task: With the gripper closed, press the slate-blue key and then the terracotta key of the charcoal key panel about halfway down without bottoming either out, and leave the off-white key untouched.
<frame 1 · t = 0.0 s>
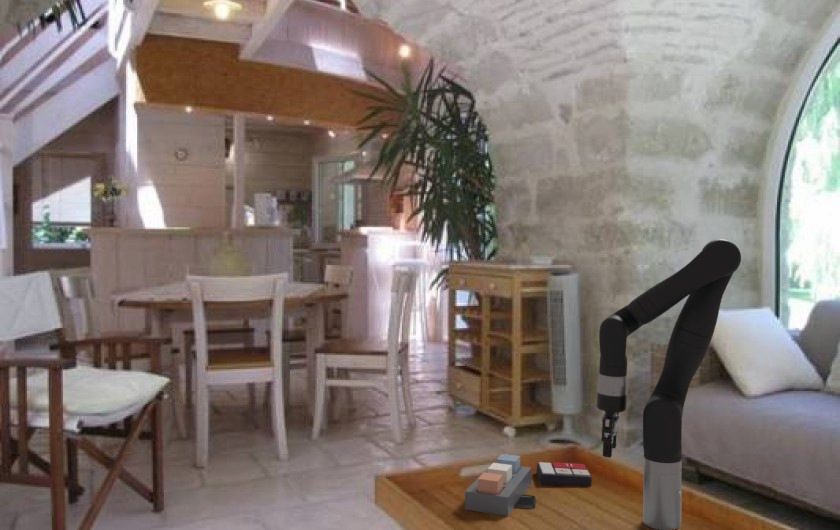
hand: (609, 452, 187), 17 cm above the table, tool pointing down, fingers open, 8 cm apart
calculator: (563, 481, 216), on the table
white key: (499, 473, 202), point 7 cm above the table, slide at 0.0 cm
key panel: (499, 496, 202), on the table
terracotta key: (490, 483, 194), point 7 cm above the table, slide at 0.0 cm
slate key: (508, 464, 210), point 7 cm above the table, slide at 0.0 cm
phone: (508, 503, 198), on the table
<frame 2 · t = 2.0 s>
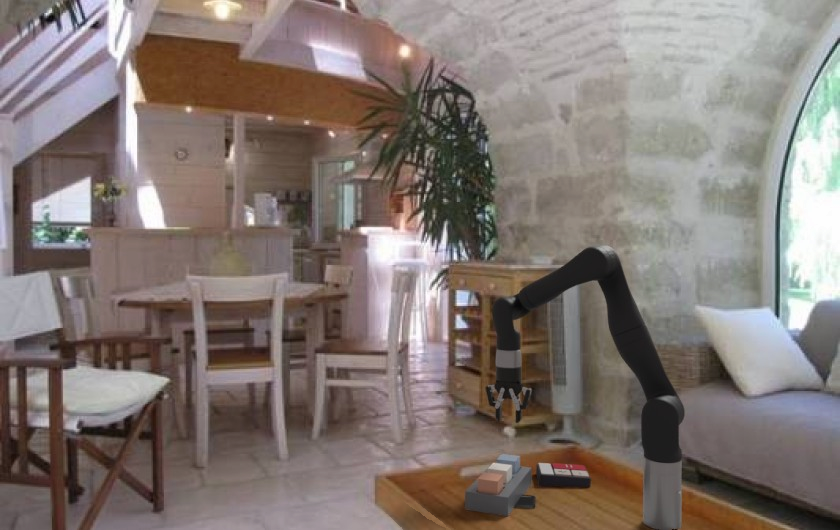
hand: (508, 421, 210), 19 cm above the table, tool pointing down, fingers open, 5 cm apart
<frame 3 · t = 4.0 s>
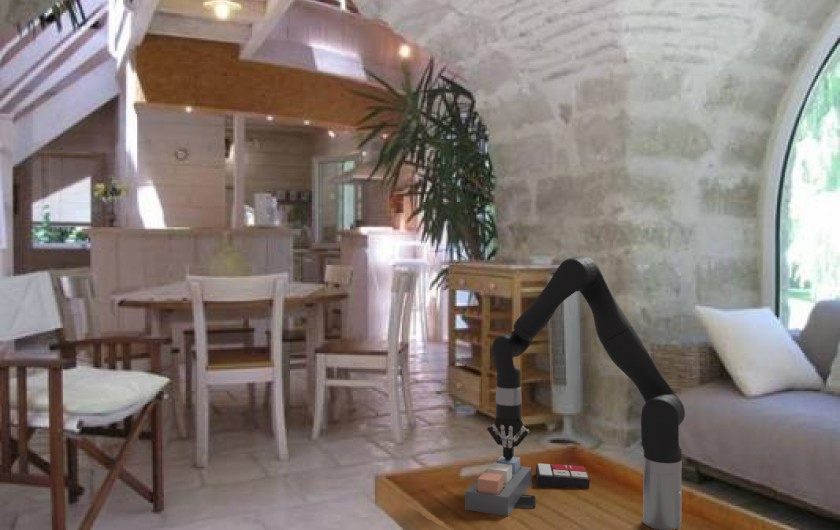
hand: (508, 459, 210), 8 cm above the table, tool pointing down, fingers closed
slate key: (508, 465, 210), point 6 cm above the table, slide at 0.5 cm, touching gripper
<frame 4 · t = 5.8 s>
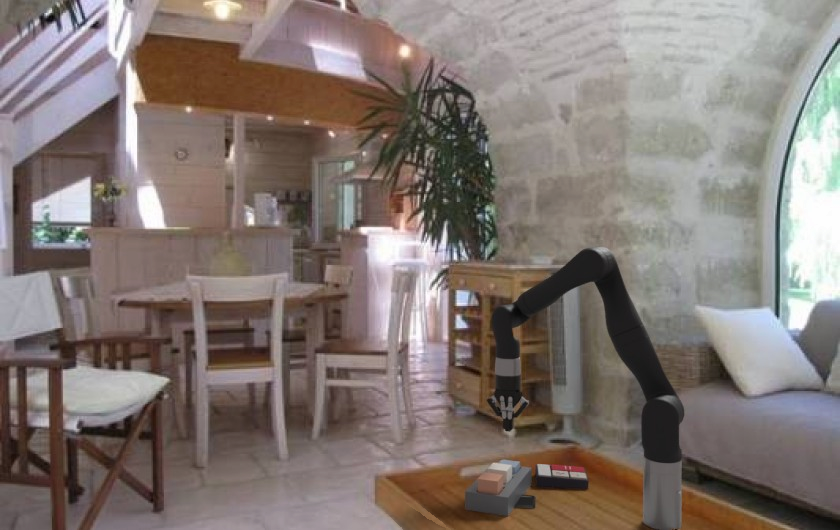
hand: (508, 430, 209), 17 cm above the table, tool pointing down, fingers closed
slate key: (508, 469, 210), point 5 cm above the table, slide at 1.7 cm
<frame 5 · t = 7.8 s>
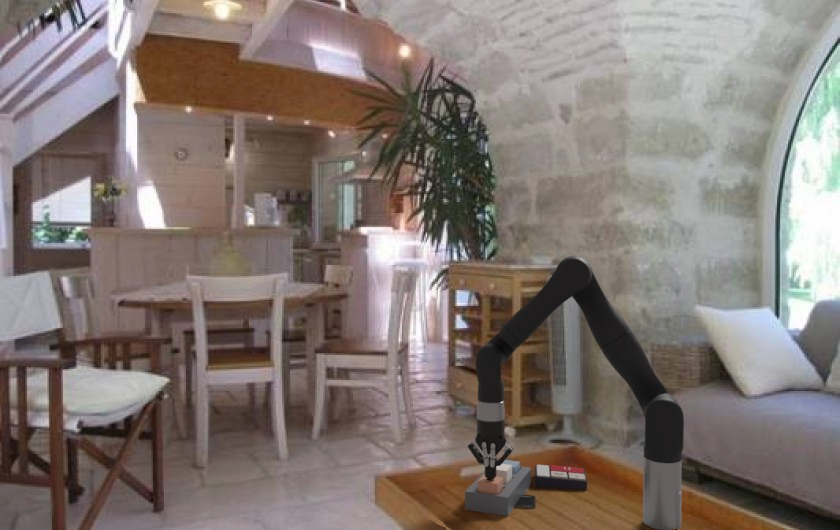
hand: (490, 479, 194), 8 cm above the table, tool pointing down, fingers closed
terracotta key: (490, 486, 194), point 6 cm above the table, slide at 0.7 cm, touching gripper
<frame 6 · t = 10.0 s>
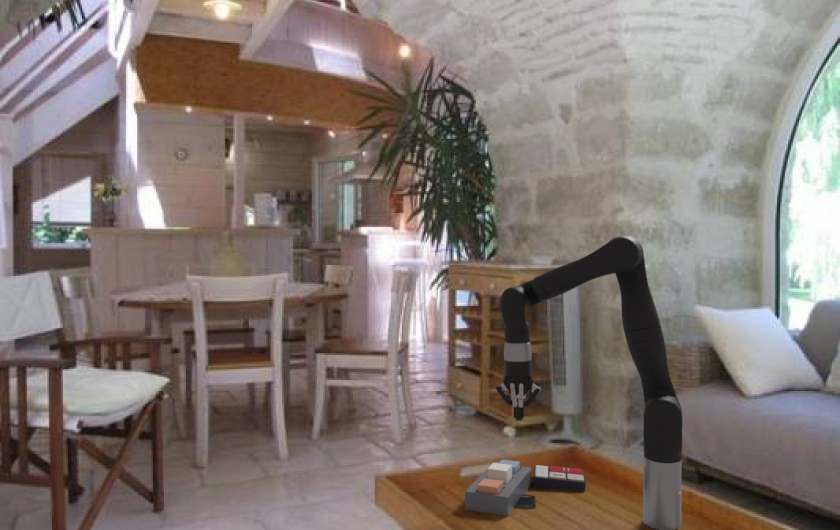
hand: (519, 419, 197), 23 cm above the table, tool pointing down, fingers closed
terracotta key: (490, 489, 194), point 5 cm above the table, slide at 1.7 cm
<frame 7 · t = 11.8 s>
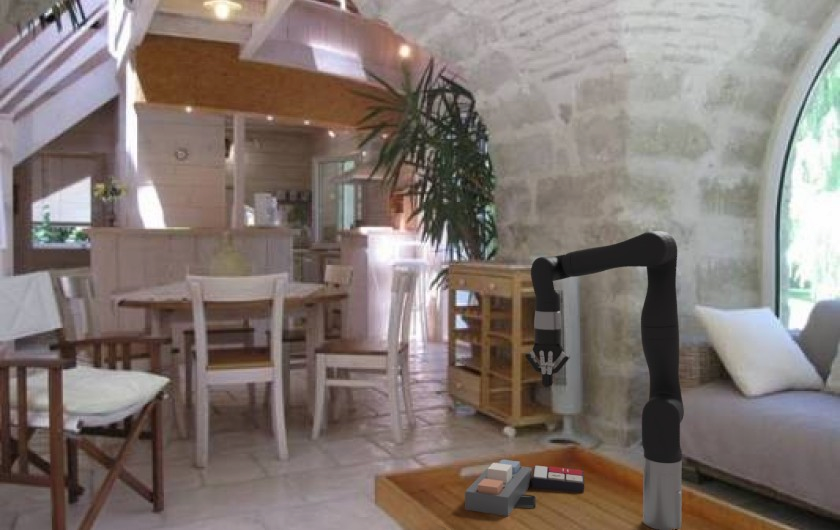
hand: (547, 386, 203), 31 cm above the table, tool pointing down, fingers closed
at the end: slate key slide at 1.7 cm; terracotta key slide at 1.7 cm; white key slide at 0.0 cm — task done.
